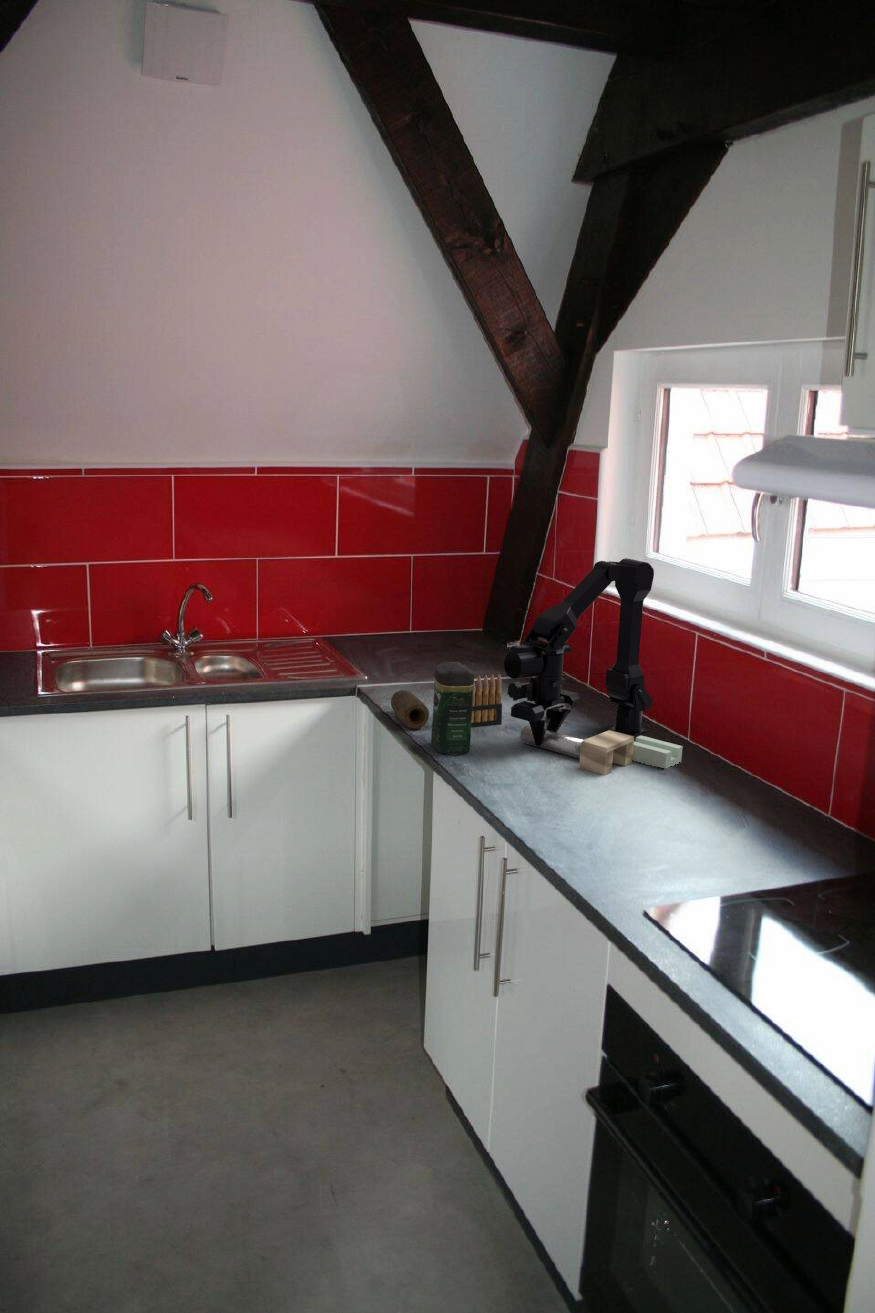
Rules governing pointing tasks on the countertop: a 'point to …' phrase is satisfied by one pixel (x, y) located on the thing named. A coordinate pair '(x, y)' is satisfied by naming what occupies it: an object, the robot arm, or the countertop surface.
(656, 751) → the v block
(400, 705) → the brown hollow cylinder
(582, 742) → the wooden bridge block
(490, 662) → the countertop surface
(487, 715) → the ammunition clip
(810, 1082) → the countertop surface
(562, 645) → the robot arm
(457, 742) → the coffee jar
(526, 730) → the axle
